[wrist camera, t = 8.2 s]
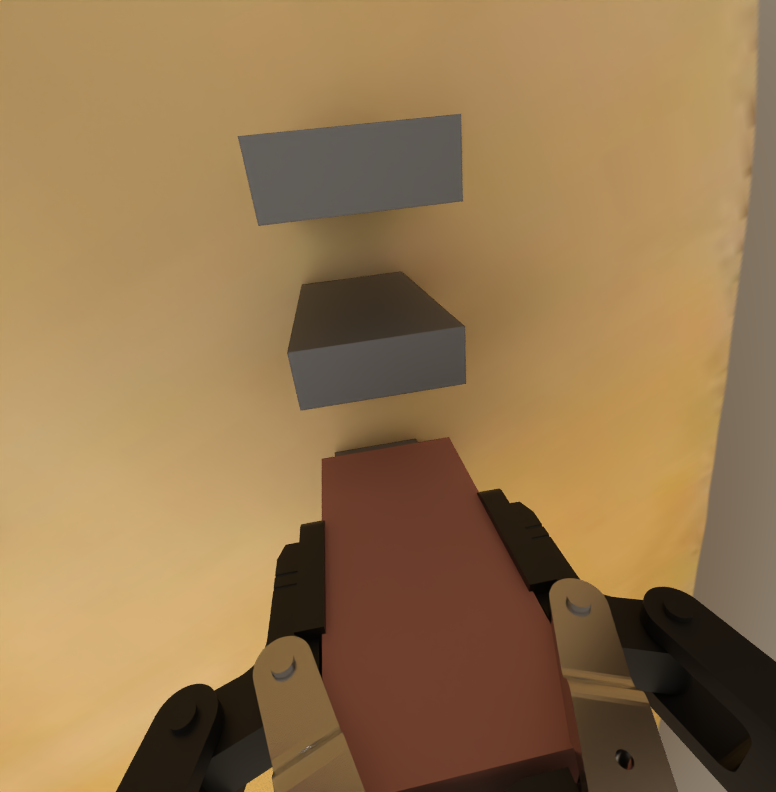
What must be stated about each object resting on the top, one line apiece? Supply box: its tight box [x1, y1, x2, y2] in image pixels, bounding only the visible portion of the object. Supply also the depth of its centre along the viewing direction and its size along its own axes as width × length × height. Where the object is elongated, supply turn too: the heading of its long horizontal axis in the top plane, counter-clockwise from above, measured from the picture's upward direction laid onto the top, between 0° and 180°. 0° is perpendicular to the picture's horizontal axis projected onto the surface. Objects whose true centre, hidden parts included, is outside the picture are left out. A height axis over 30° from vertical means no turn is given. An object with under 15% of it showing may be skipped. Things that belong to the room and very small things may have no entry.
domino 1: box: [238, 114, 463, 226], centre depth 14 cm, size 2×5×10 cm, turn 96°
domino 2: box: [287, 272, 466, 410], centre depth 16 cm, size 2×5×10 cm, turn 96°
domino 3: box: [322, 437, 579, 792], centre depth 12 cm, size 2×5×10 cm, turn 96°
